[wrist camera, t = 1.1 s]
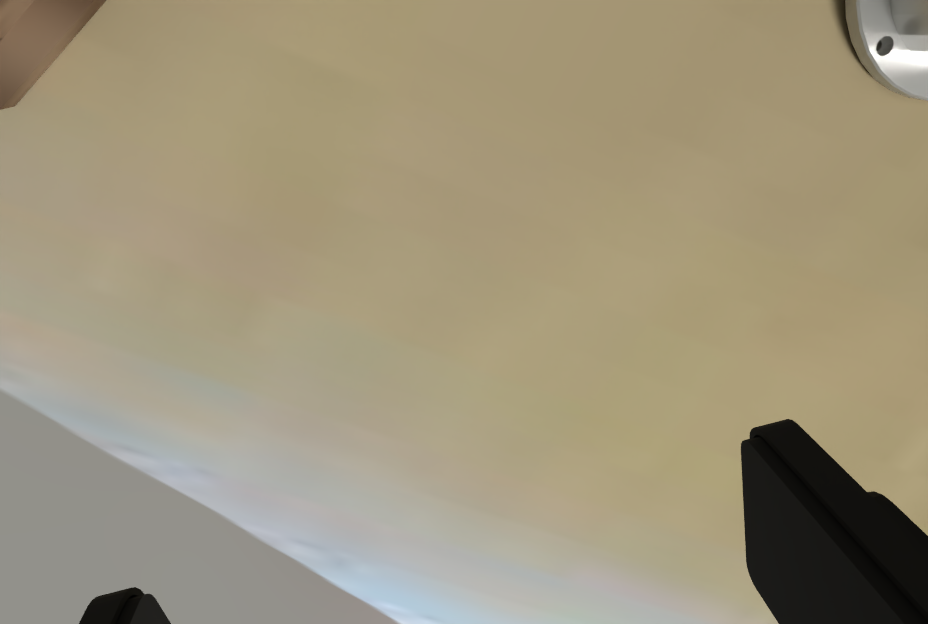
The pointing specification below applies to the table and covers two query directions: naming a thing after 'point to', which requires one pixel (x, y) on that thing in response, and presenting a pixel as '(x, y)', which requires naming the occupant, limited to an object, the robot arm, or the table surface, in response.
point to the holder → (35, 39)
